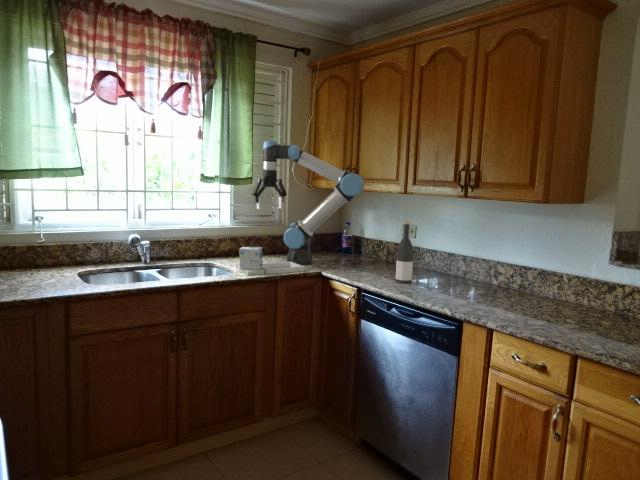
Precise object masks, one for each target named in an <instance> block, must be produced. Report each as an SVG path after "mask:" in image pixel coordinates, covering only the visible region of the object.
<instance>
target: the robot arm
mask: <svg viewBox="0 0 640 480" xmlns="http://www.w3.org/2000/svg"><path fill="white" fill-rule="evenodd" d="M262 148H263V149H262V151H263V153H262V157H263V158H262V162H263V163H262V169H263V170H262V178H258V179H257V182H256V185H255V187H254V189H253V191H252V193H251V195H252V196H253V197H255V198H254V199H255V201H254V202H255V203H256V209H257V210H261V194H262V193H263V192H264V190H265V189H266V188H273V189H274V190H275V191H276V193H277V194H278V195H279V196H278V209H280V210H281V209H283V203H284V199H285V198H284V197H285V196H287V195H288V193H287V191H286V189H285V187H284V184H283V179H282V178H278V179H277V177H278V171H277V169H278V160H289V161H292V162H294V163H296V164H299V165H300V166H302V167H304V168H307V169H308V170H311V171H312V172H314V173H316V174H318V175H320V176H321V177H324V178H326V179H327V180H330V181H332V182H334V183H336V185H335V186H334V190H333V192H331V193H330V194H329V195H328V196H327V197H326V198H324V200H322V201H321V202H320V203H319V204H318V205H317V206H316V207H315V208H314V209H313V210H312V211H311V212H310V213H308V214H307V215H306V216H305V217H304V219H302V220H297V221H296V222H292V223H290V225H289V228H287V229H286V230H285V232H284V233H283V242H284V244H285V245H286V246H287V247H288V248H289V251H288V253H287V256H286V262H293V263H296V264H299V265H302V266H305V265H311V264H313V261H314V260H313V256H312V253H311V239H312V238H313V237H314V232H315V231H316V230H317V229H318V228H319V227H320V226H322V224H323V223H324V222H326V221H327V220H328V219H329V218H330V217H331V216H332V215H333V214H334V213H335V212H337V210H338V209H340V208H341V207H342V206H343V205H345V204H346V203H351V201H353V200H354V198H356V197H357V196H358V195H360V194H361V193H362V192H363V191H364V188H365V180H364V178H363V177H362V176H361V175H360V174H357V173H353V172H351V171H348V170H342V169H340V168H339V167H336V166H334V165H332V164H330V163H328V162H326V161H323V160H321V158H318V157H316V156H314V155H312V154H310V153H308V152H306V151H304V150H302V149H300V147H299V145H296V144H295V145H294V144H283V145H282V144H281V145H280V144H278V142H277V141H276V140H265V141H263V147H262ZM262 183H263V184H262Z"/></svg>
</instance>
